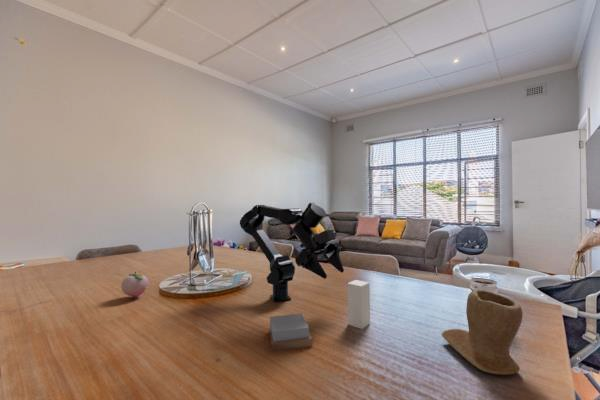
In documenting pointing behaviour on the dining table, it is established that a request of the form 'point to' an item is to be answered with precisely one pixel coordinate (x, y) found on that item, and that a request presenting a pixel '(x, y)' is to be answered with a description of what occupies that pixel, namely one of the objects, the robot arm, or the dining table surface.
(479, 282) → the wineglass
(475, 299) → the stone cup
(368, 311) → the pillar
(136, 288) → the decorative fruit
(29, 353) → the dining table surface
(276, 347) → the tower base slab
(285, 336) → the tower top slab
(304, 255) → the robot arm
